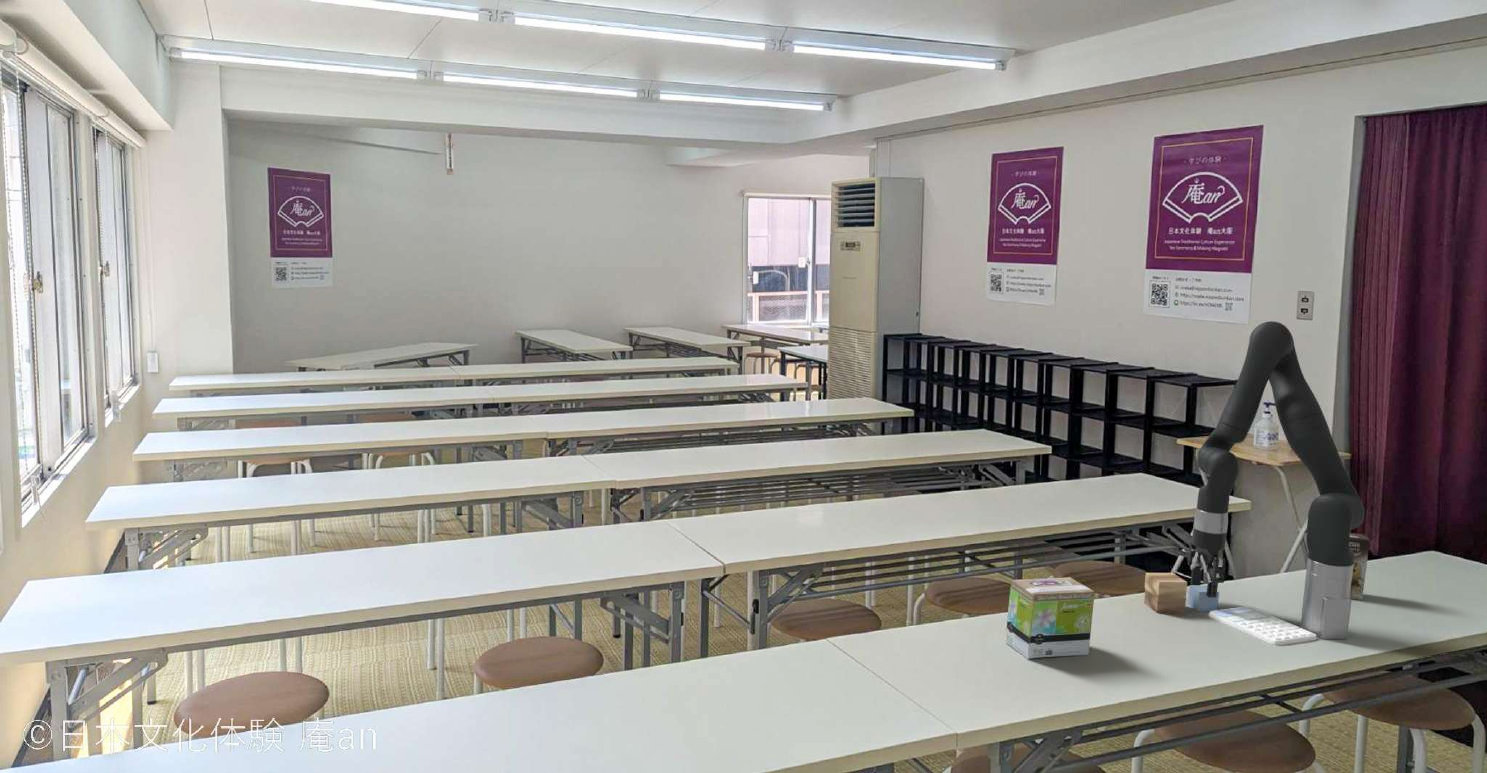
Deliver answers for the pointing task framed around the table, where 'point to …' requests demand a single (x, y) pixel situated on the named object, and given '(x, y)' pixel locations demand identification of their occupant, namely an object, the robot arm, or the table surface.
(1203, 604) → the blue cube
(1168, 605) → the base block
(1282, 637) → the calculator
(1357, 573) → the coffee box
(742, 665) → the table surface
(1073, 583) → the tea box
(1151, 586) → the top block
